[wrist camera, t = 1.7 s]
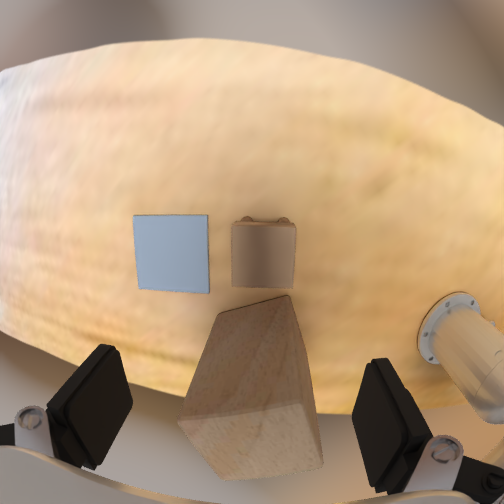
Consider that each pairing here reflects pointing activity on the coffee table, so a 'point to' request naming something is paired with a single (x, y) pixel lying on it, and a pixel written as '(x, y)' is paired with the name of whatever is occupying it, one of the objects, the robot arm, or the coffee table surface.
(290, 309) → the wooden block
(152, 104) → the coffee table surface
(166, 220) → the mat
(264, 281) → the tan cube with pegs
